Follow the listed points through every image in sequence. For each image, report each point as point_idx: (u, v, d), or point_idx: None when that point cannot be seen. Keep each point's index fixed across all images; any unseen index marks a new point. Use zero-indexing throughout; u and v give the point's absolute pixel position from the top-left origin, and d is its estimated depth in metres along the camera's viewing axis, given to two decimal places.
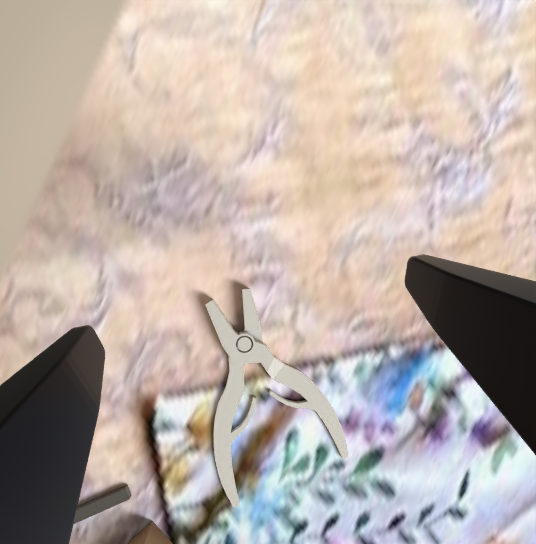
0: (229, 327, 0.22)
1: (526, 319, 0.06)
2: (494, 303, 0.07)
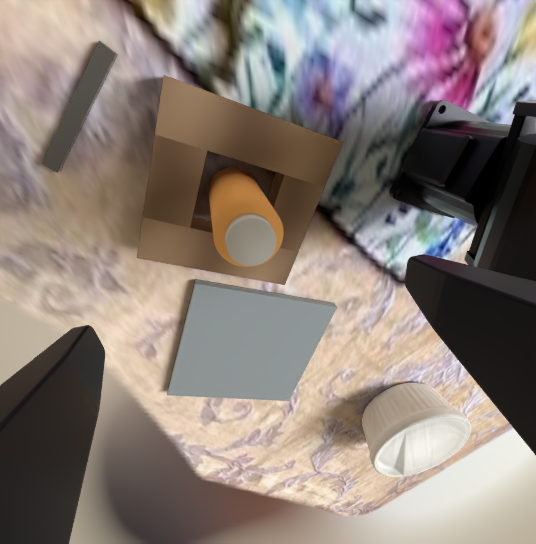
0: None
1: (526, 319, 0.06)
2: (494, 303, 0.07)
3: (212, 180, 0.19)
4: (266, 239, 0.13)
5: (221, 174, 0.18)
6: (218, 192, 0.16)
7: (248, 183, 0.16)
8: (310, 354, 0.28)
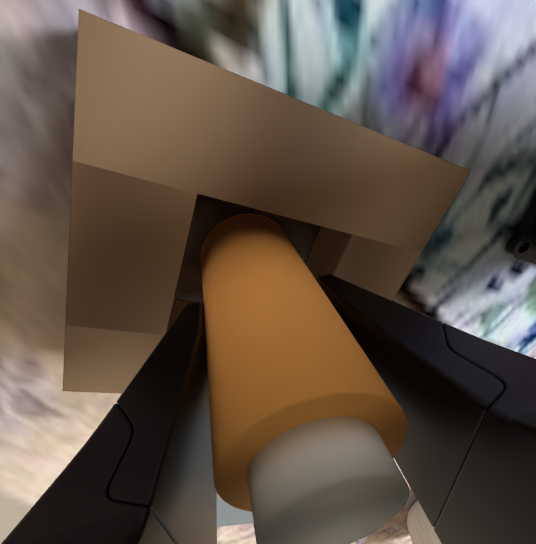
0: None
1: (391, 353, 0.05)
2: (373, 333, 0.06)
3: (208, 241, 0.10)
4: (379, 505, 0.04)
5: (226, 233, 0.09)
6: (222, 295, 0.07)
7: (291, 272, 0.07)
8: None
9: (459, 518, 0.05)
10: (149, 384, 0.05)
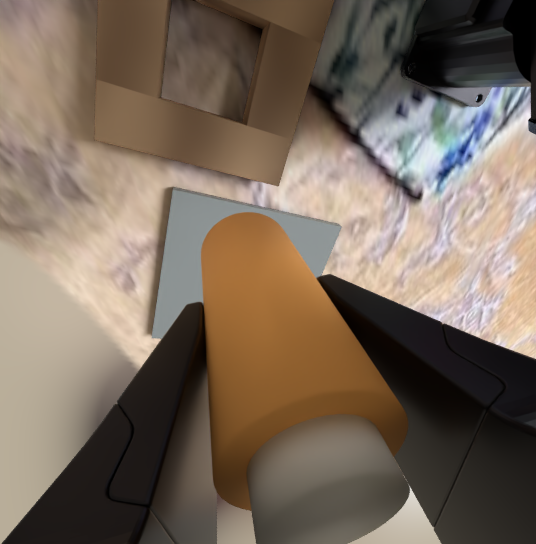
0: None
1: (391, 353, 0.05)
2: (373, 332, 0.06)
3: (208, 239, 0.10)
4: (379, 503, 0.04)
5: (226, 232, 0.09)
6: (222, 293, 0.07)
7: (291, 270, 0.07)
8: None
9: (459, 518, 0.05)
10: (149, 384, 0.05)
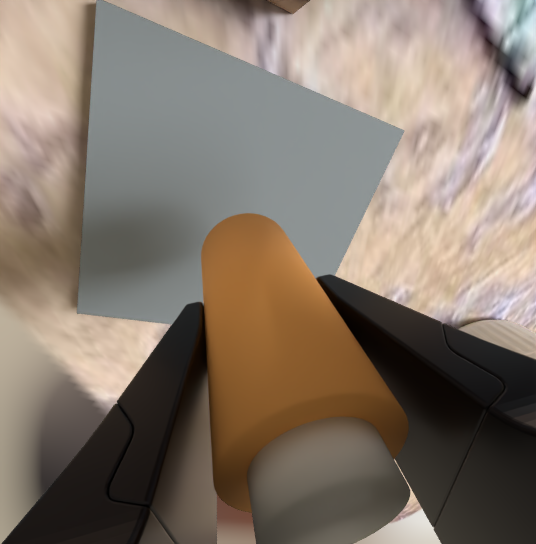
0: None
1: (391, 353, 0.05)
2: (373, 332, 0.06)
3: (208, 240, 0.10)
4: (380, 506, 0.04)
5: (226, 233, 0.09)
6: (222, 294, 0.07)
7: (291, 272, 0.07)
8: (346, 243, 0.15)
9: (459, 518, 0.05)
10: (149, 384, 0.05)
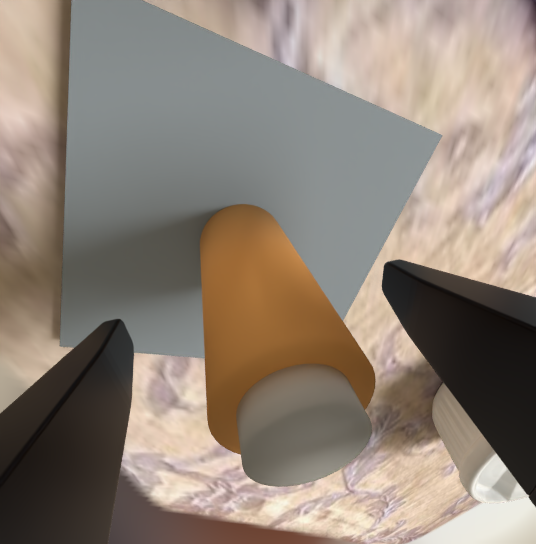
0: None
1: (492, 328, 0.06)
2: (463, 310, 0.06)
3: (206, 229, 0.11)
4: (346, 437, 0.05)
5: (222, 221, 0.10)
6: (218, 272, 0.08)
7: (279, 252, 0.08)
8: (369, 263, 0.13)
9: None
10: (16, 416, 0.05)
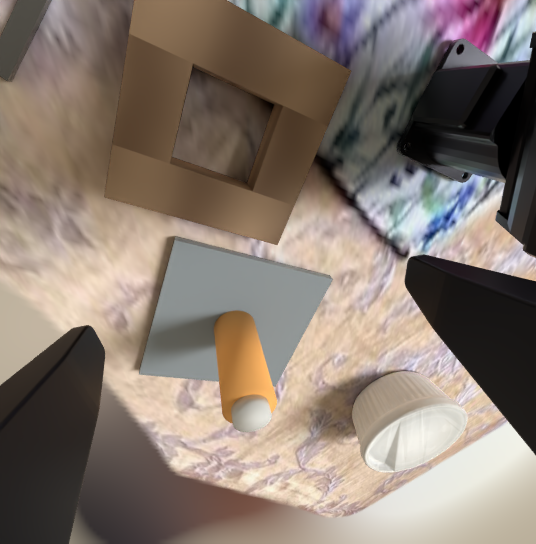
0: None
1: (526, 319, 0.06)
2: (494, 303, 0.07)
3: (218, 323, 0.22)
4: (263, 416, 0.17)
5: (226, 322, 0.22)
6: (225, 354, 0.19)
7: (249, 346, 0.20)
8: (301, 333, 0.26)
9: None
10: None
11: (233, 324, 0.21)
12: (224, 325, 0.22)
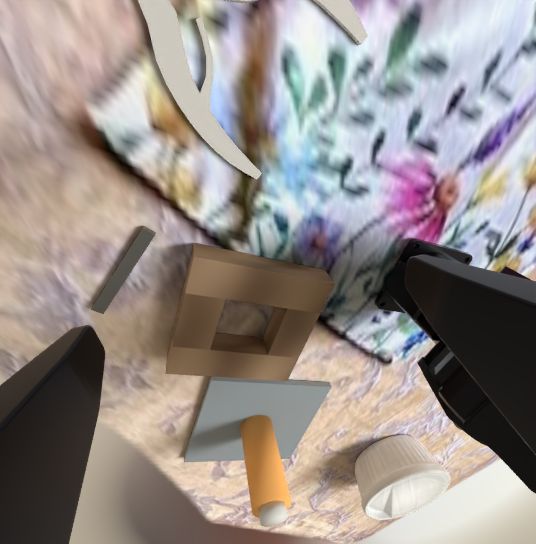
0: None
1: (526, 319, 0.06)
2: (494, 303, 0.07)
3: (243, 426, 0.29)
4: (282, 516, 0.24)
5: (250, 428, 0.29)
6: (251, 461, 0.26)
7: (269, 454, 0.26)
8: (308, 423, 0.32)
9: None
10: None
11: (255, 431, 0.28)
12: (249, 430, 0.28)
